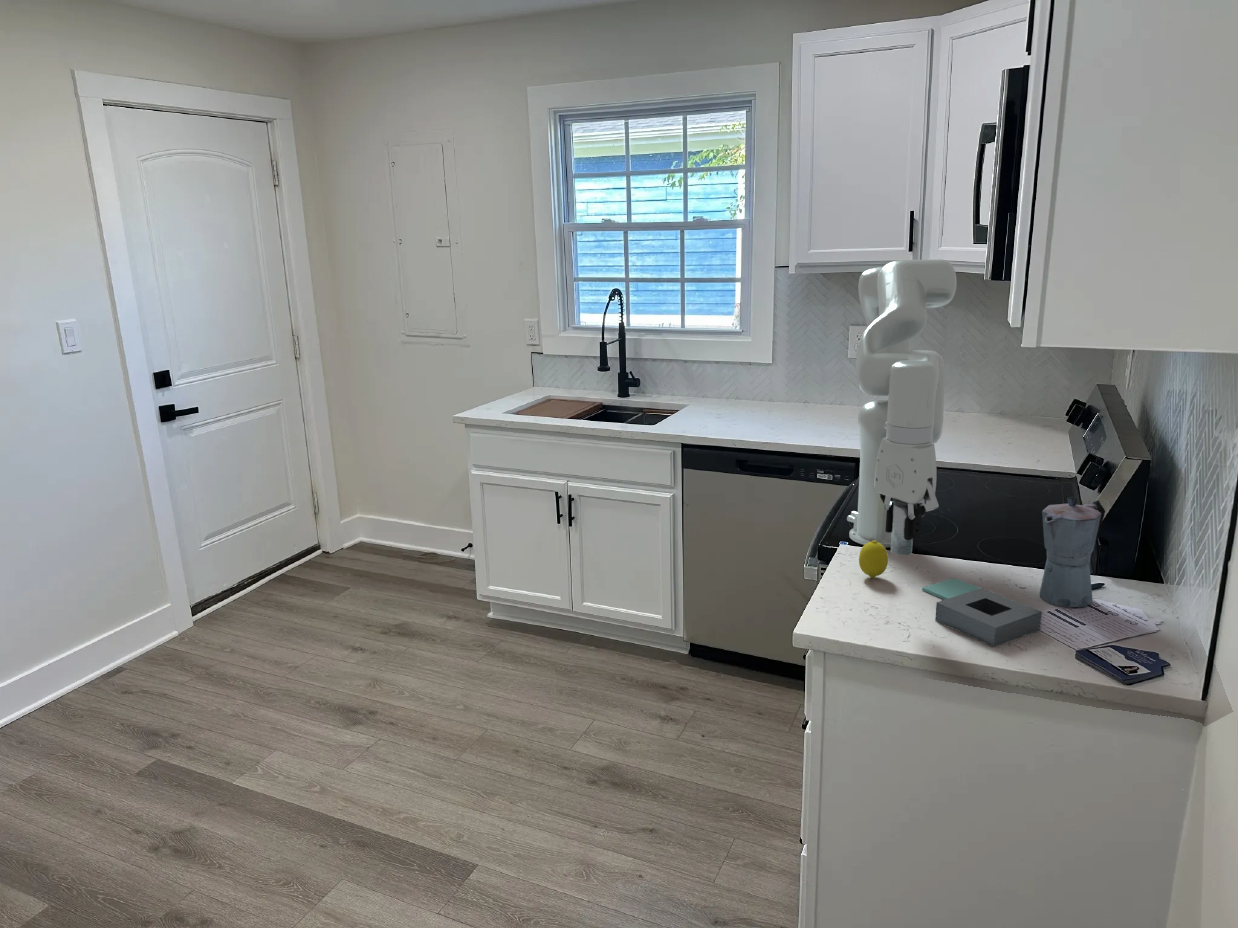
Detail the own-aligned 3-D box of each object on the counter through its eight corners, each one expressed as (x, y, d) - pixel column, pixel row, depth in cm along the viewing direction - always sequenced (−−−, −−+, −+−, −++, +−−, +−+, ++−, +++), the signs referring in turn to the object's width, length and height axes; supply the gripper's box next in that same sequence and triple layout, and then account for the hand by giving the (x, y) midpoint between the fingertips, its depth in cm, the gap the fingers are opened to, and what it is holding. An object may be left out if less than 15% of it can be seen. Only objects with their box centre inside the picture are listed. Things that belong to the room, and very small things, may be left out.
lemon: (881, 572, 172) (883, 535, 170) (890, 582, 166) (893, 544, 164) (854, 573, 171) (856, 536, 169) (862, 583, 166) (865, 545, 164)
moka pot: (1016, 598, 158) (1026, 496, 153) (1067, 581, 165) (1078, 483, 160) (1063, 616, 150) (1076, 509, 145) (1115, 597, 157) (1129, 495, 152)
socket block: (935, 620, 149) (936, 602, 149) (980, 605, 155) (982, 587, 154) (993, 647, 139) (995, 627, 138) (1040, 630, 145) (1042, 611, 144)
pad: (922, 590, 162) (922, 587, 162) (954, 580, 167) (954, 577, 166) (960, 606, 155) (961, 603, 155) (993, 596, 159) (993, 593, 159)
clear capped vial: (884, 549, 150) (887, 496, 147) (900, 545, 152) (904, 492, 149) (901, 557, 147) (905, 502, 144) (917, 552, 149) (922, 498, 146)
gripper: (857, 427, 149) (852, 525, 154) (932, 447, 135) (924, 554, 140) (888, 421, 152) (882, 517, 157) (964, 440, 138) (955, 544, 143)
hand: (902, 533), depth 148 cm, fingers closed on clear capped vial, 3 cm apart
